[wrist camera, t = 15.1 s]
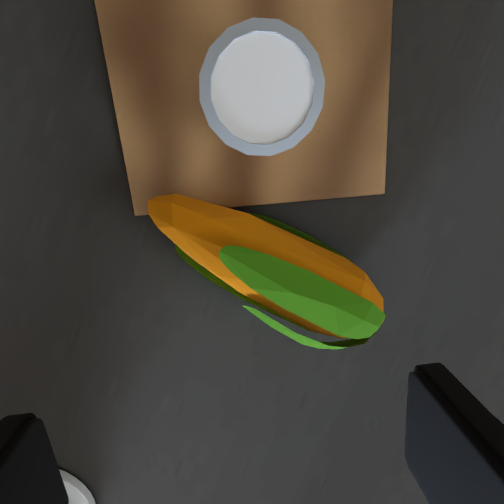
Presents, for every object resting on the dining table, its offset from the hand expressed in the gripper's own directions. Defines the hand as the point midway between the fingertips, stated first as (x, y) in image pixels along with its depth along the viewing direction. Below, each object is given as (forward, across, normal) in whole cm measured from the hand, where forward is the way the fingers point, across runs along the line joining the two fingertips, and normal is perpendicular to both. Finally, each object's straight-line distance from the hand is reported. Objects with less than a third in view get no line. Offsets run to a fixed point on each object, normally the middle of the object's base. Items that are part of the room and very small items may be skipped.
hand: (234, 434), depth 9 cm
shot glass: (+20, -3, -10) cm, 23 cm away
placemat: (+20, -3, -10) cm, 23 cm away
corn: (+21, -3, +2) cm, 21 cm away
